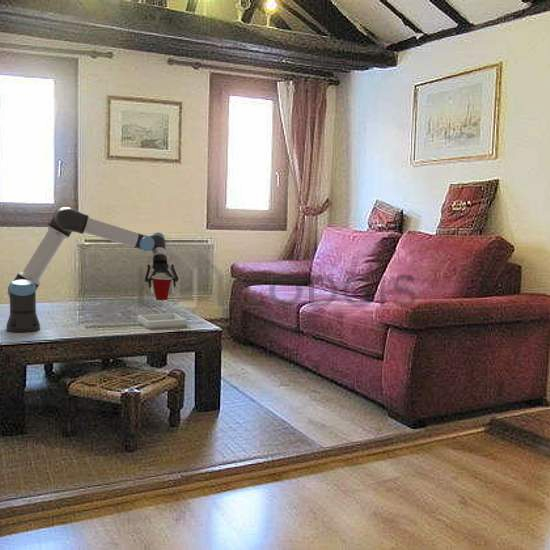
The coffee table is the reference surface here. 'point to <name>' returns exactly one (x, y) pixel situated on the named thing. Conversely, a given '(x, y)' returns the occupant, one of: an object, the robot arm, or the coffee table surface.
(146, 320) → the tray
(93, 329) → the coffee table surface
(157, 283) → the plastic cup
